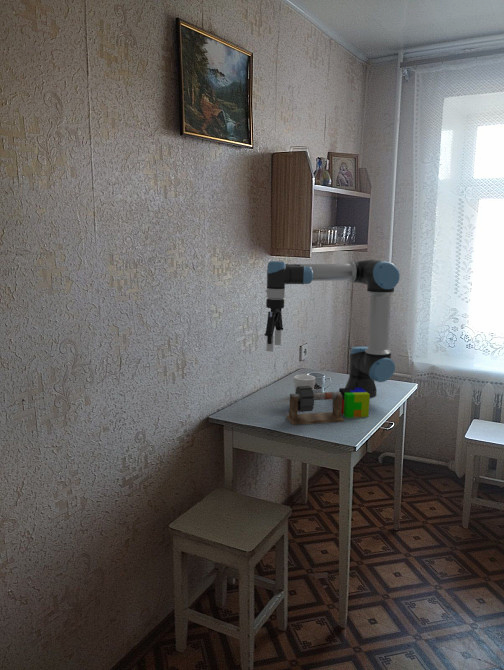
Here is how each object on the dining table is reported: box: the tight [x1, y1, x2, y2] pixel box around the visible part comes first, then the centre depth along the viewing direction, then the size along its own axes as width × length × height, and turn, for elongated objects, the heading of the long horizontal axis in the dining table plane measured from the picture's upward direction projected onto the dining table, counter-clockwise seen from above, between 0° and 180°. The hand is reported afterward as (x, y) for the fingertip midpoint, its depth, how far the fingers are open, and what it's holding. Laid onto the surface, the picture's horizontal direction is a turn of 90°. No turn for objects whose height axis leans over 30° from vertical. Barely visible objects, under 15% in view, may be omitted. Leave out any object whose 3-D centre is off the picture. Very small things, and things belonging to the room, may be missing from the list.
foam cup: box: [293, 374, 316, 393], centre depth 244 cm, size 10×9×13 cm
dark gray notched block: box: [294, 386, 315, 413], centre depth 224 cm, size 5×10×10 cm, turn 12°
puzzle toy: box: [338, 387, 371, 419], centre depth 235 cm, size 10×10×10 cm
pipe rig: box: [286, 391, 345, 426], centre depth 226 cm, size 22×9×12 cm, turn 102°
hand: (273, 348), depth 232 cm, fingers open, 13 cm apart
